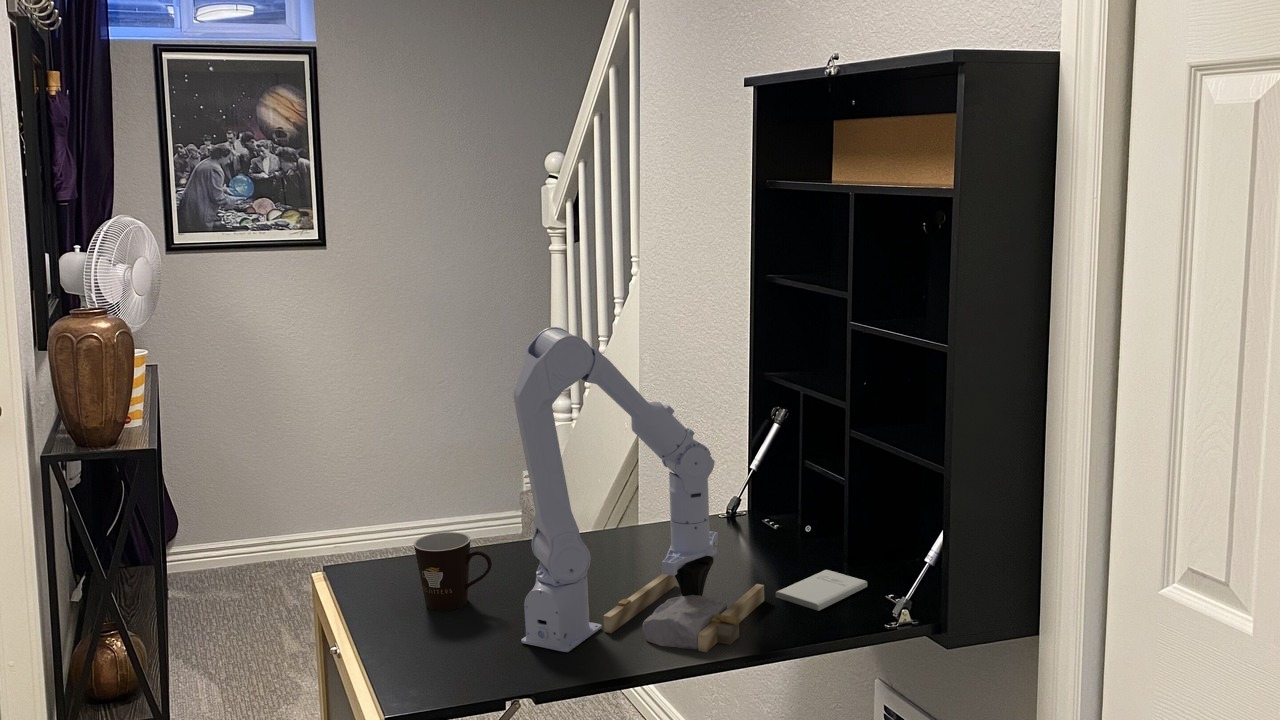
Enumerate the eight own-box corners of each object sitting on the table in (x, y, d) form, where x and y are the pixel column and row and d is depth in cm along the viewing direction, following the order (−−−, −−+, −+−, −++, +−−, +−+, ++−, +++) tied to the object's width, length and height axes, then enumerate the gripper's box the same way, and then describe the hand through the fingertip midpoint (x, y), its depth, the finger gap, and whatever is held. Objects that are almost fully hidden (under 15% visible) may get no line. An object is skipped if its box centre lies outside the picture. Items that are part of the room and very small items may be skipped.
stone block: (639, 654, 165) (703, 651, 160) (632, 621, 165) (696, 618, 160) (673, 625, 175) (734, 621, 171) (667, 594, 175) (728, 590, 171)
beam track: (723, 655, 159) (722, 631, 159) (604, 631, 168) (602, 609, 168) (780, 603, 176) (779, 581, 176) (668, 584, 186) (668, 563, 185)
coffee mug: (407, 604, 182) (402, 543, 180) (451, 587, 188) (447, 528, 186) (454, 623, 174) (449, 559, 172) (498, 605, 180) (494, 543, 178)
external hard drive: (775, 601, 179) (825, 577, 187) (818, 614, 173) (867, 590, 182) (775, 590, 179) (824, 568, 187) (818, 604, 173) (867, 580, 181)
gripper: (691, 536, 164) (694, 627, 167) (735, 506, 176) (737, 591, 179) (647, 530, 167) (651, 619, 170) (693, 501, 180) (696, 585, 182)
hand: (692, 604), depth 175 cm, fingers closed
